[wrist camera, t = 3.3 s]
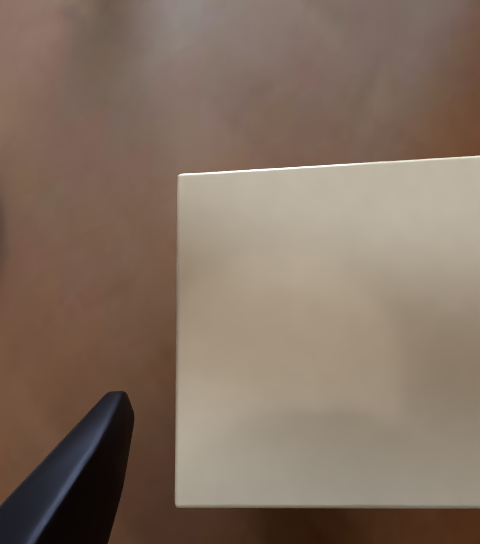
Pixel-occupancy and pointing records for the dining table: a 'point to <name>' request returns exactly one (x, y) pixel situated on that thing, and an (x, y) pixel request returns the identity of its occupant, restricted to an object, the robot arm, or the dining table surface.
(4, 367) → the dining table surface
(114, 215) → the dining table surface
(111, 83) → the dining table surface
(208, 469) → the block
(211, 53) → the dining table surface
